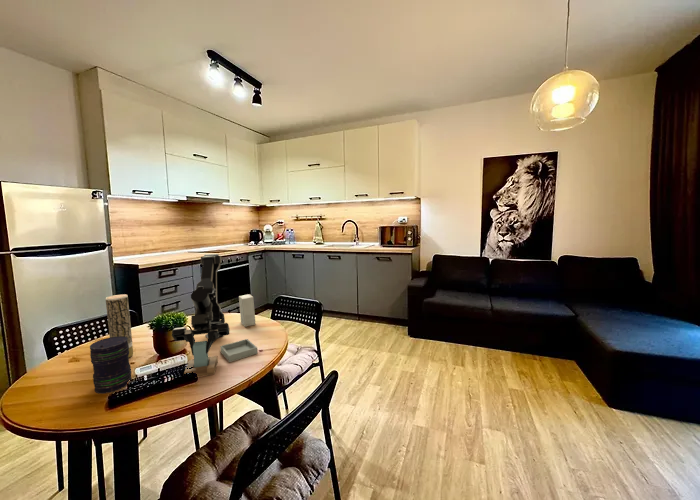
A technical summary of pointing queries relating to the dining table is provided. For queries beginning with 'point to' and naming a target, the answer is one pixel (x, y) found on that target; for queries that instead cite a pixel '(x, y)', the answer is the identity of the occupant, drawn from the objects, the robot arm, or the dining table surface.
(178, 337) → the robot arm
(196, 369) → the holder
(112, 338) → the dark grey cylinder
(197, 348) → the peg
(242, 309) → the skincare box
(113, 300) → the bark covered log
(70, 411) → the dining table surface
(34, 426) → the dining table surface
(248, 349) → the tray
